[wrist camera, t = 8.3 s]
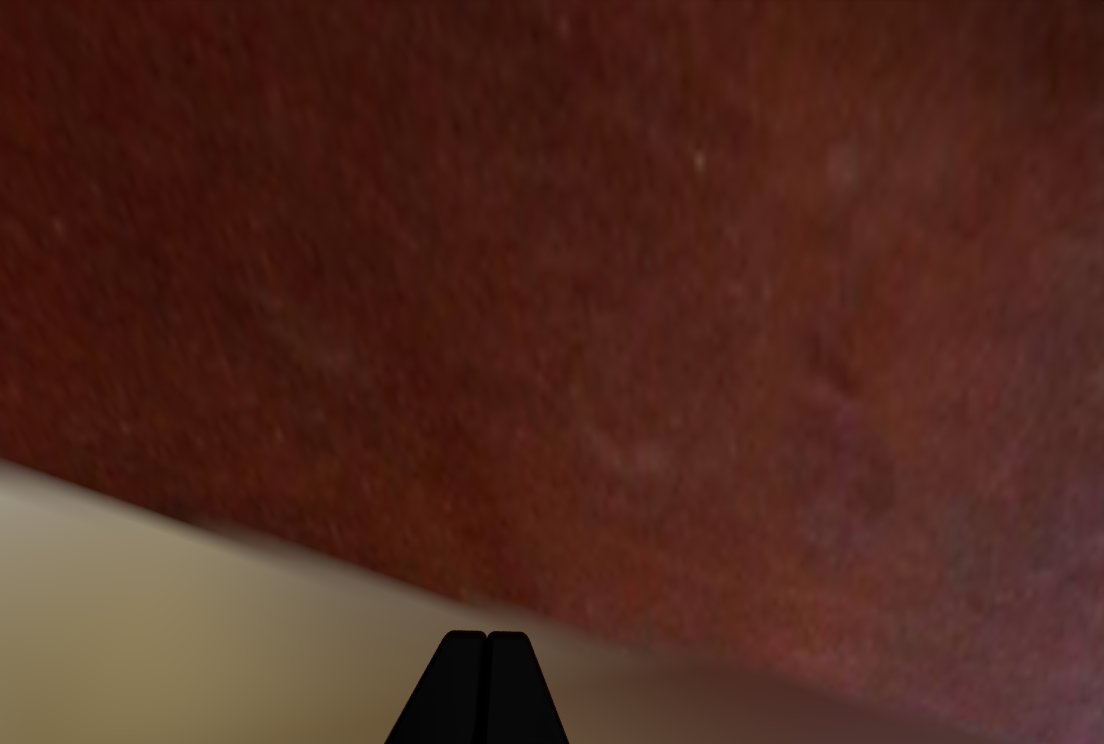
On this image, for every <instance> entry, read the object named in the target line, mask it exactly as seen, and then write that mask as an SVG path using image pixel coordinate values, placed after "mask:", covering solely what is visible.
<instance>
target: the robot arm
mask: <svg viewBox="0 0 1104 744" xmlns="http://www.w3.org/2000/svg"><path fill="white" fill-rule="evenodd" d="M384 744H569V742H568V739H567V736H566V734H565V731H564V728H563V726H562V723H561V721H560V718H559V715H558V713H557V710H556V707H555V705H554V702H553V700H552V697H551V694H550V692H549V689H548V687H547V684H546V681H545V679H544V676H543V674H542V671H541V668H540V666H539V663H538V660H537V658H536V655H535V653H534V650H533V647H532V645H531V642H530V640H529V638H528V636H527V635H526V634H525V633H523V632H511V631H493V632H491V633H490V634H489V635H488V637H487V636H486V634H485V633H484V632H482V631H463V630H453V631H450V632H448V633H447V634H446V635H445V636H444V638H443V639H442V641H441V643H440V644H439V646H438V648H437V650H436V652H435V653H434V655H433V657H432V659H431V661H430V662H429V664H428V666H427V668H426V669H425V671H424V673H423V675H422V677H421V678H420V680H419V682H418V684H417V685H416V687H415V689H414V691H413V693H412V694H411V696H410V698H409V700H408V701H407V703H406V705H405V707H404V709H403V711H402V712H401V714H400V716H399V717H398V719H397V721H396V723H395V725H394V726H393V728H392V730H391V732H390V734H389V736H388V737H387V739H386V741H385V742H384Z"/></svg>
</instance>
